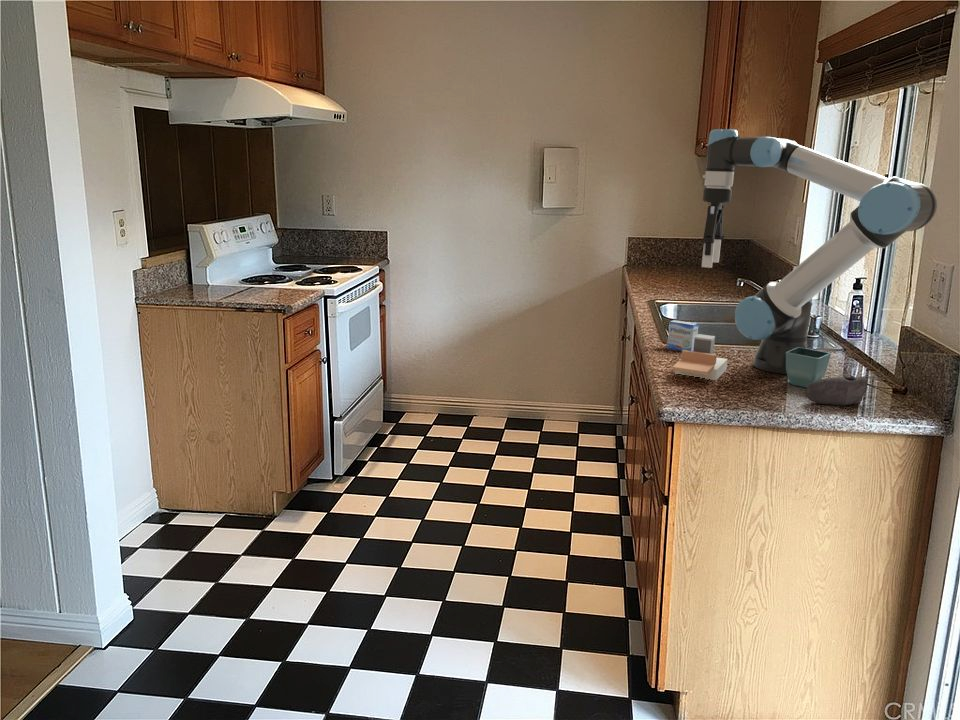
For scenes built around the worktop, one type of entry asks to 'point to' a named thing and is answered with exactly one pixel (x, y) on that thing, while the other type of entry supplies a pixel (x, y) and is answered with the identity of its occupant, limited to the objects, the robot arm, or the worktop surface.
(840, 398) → the perforated stone tool
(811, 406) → the worktop surface
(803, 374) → the flower pot
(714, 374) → the socket housing
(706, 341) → the plug
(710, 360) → the shutter
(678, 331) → the medicine box
